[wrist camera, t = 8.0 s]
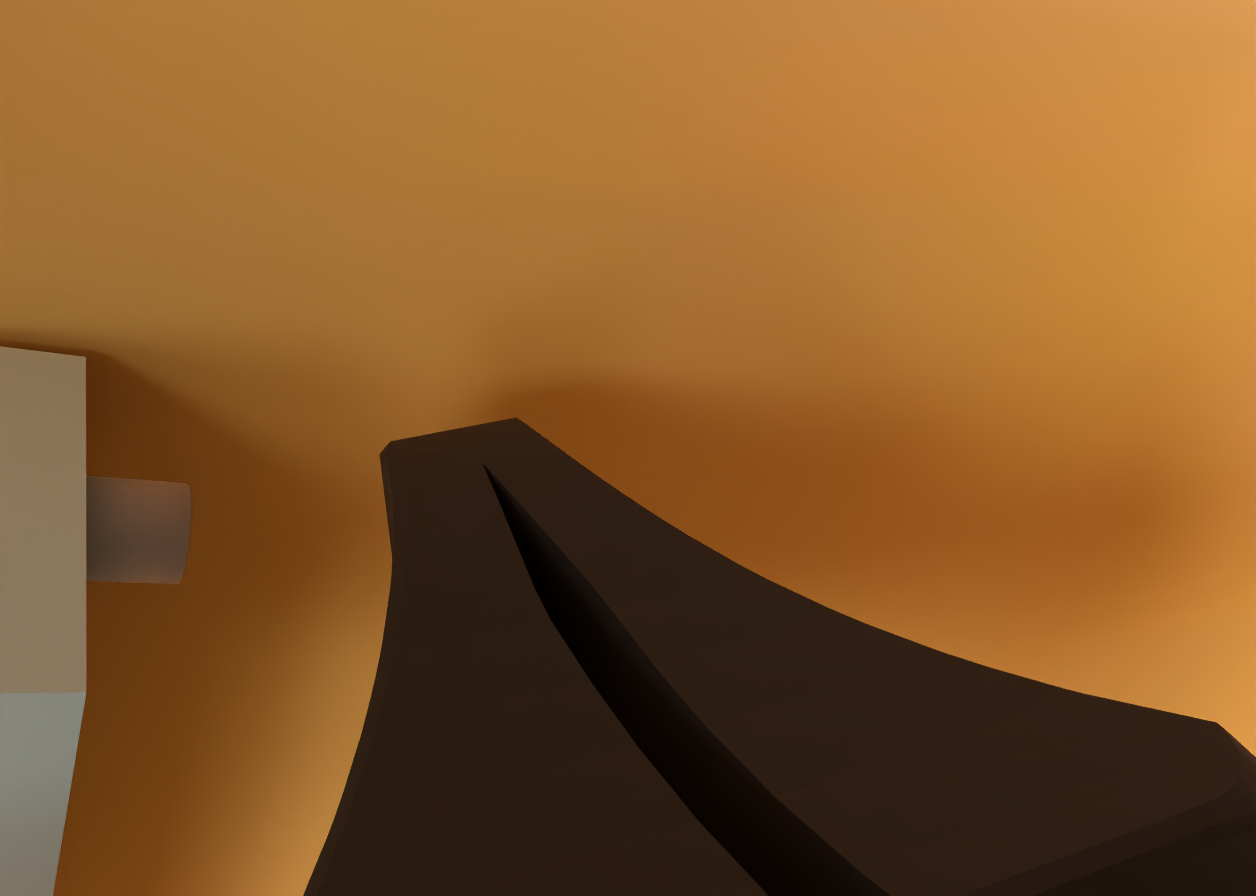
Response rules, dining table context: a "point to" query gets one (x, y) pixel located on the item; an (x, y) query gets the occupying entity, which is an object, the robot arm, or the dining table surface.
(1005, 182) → the dining table surface
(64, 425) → the door
